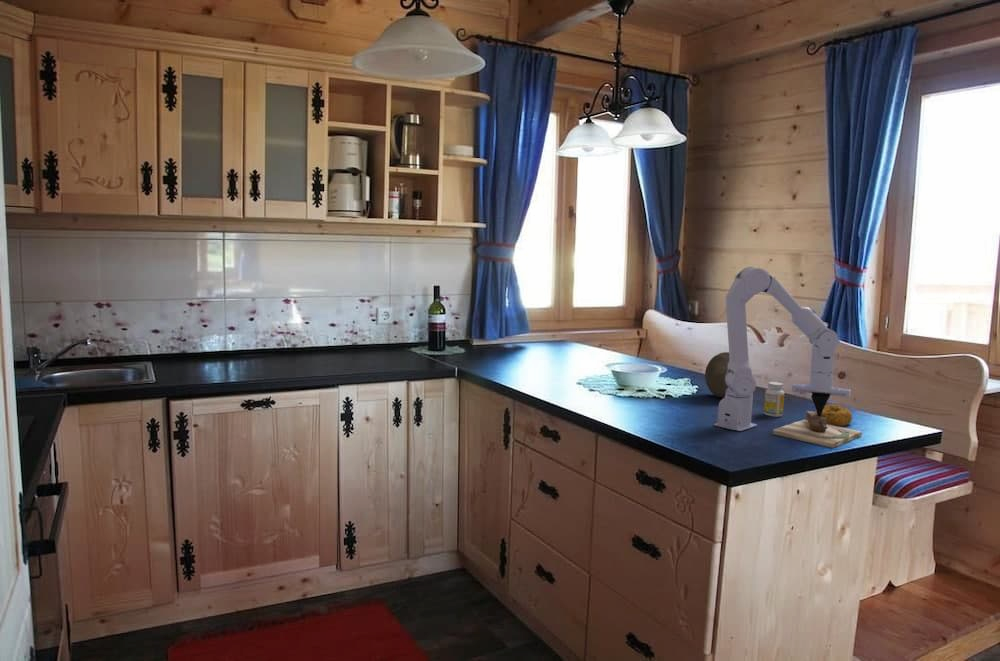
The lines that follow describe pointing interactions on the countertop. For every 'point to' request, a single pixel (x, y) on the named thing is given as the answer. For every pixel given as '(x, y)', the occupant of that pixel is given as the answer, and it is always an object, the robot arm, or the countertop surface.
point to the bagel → (836, 415)
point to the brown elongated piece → (816, 421)
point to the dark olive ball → (717, 374)
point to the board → (817, 434)
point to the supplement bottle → (774, 400)
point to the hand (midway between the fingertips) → (818, 419)
